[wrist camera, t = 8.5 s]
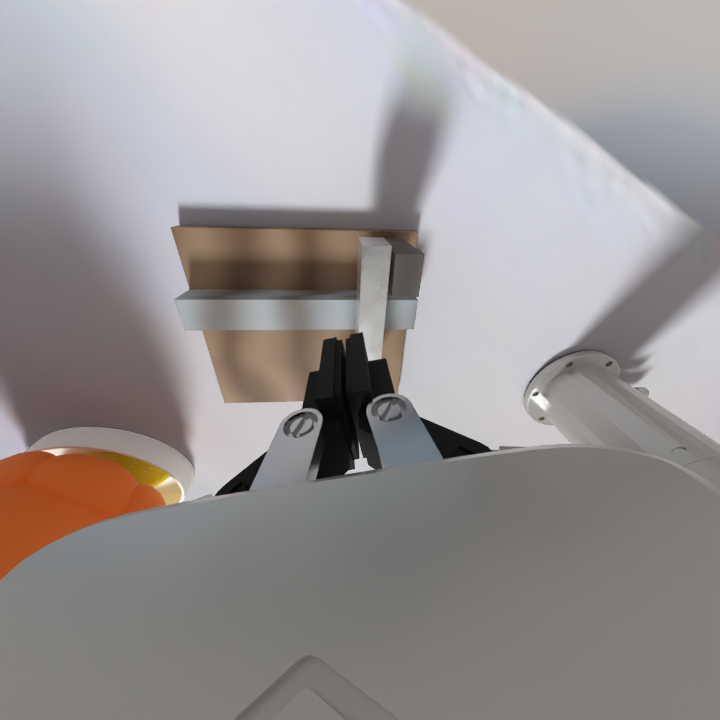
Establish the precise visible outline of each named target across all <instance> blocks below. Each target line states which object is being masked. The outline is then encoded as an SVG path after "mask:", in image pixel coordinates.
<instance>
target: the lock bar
mask: <svg viewBox="0 0 720 720" xmlns="http://www.w3.org/2000/svg"><path fill="white" fill-rule="evenodd" d="M391 251H392V246H391V245H390V244H389V243H388V242H387V241H386V240H385V239H384V238H375V237H358V265H357V294H356V324H355V333H360V332H363V337H364V342H365V347H366V352H367V357H368V361H372V360H378V359H381V356H382V345H383V335H384V324H385V314H386V303H387V293H388V282H389V272H390V261H391Z"/></svg>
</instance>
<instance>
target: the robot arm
mask: <svg viewBox="0 0 720 720" xmlns="http://www.w3.org/2000/svg"><path fill="white" fill-rule="evenodd" d="M620 378H621V370H620V367H619V364H618V363H617V362H616V360H614V359H613V358H611V357H610V356H608V355H606V354H604V353H602V352H598V351H582V352H576V353H573V354H570V355H566V356H564V357H562V358H560V359H558V360H556V361H554V362H553V363H551V364H549V365H548V366H547V367H545V368H544V369H543V370H542V371H540V372H539V374H538V375H537V376H536V377H535V378H534V379H533V380H532V382H531V383H530V384H529V386H528V388H527V390H526V393H525V397H524V406H525V410H526V411H527V413H528V414H529V415H530V416H531V417H532V418H533V419H534V420H535V421H537V422H538V423H541V424H545V425H554V426H555V427H556V428H557V429H558V430H559V431H560V432H561V433H562V434H563V436H564V437H565V438H566V439H567V440H568V441H569V442H570V443H571V444H557V445H541V446H533V447H506V446H499V450H490V449H489V448H488V447H487V446H485V445H483V444H482V443H480V442H477V441H475V440H473V439H470V438H468V437H466V436H463V435H461V434H459V433H456V432H454V431H452V430H449V429H447V428H444V427H442V426H440V425H437V424H435V423H433V422H430V421H428V420H426V419H423V418H421V417H419V416H418V414H417V412H416V410H415V409H414V407H413V405H412V403H411V402H410V401H409V400H408V398H406V397H404V396H402V395H399V394H395V391H394V387H393V383H392V380H391V376H390V372H389V368H388V364H387V360H386V358H383V359H378V360H372V361H368V357H367V352H366V347H365V342H364V337H363V332H360V333H355V334H350V338H347V339H346V353H345V349H344V345H343V341H342V340H337V337H334V338H329V339H324V340H323V346H322V353H321V360H320V367H319V370H318V371H313V372H310V373H309V376H308V381H307V386H306V391H305V396H304V402H303V407H302V409H300V410H297V411H295V412H293V413H291V414H290V415H288V416H287V417H286V418H285V419H284V420H283V421H282V422H281V424H280V425H279V428H278V430H277V432H276V434H275V436H274V438H273V440H272V443H271V445H270V447H269V449H268V451H267V452H265V453H264V454H263V455H262V456H260V457H259V458H258V459H257V460H255V461H254V462H253V463H252V464H250V465H249V466H248V467H247V468H245V469H244V470H243V471H242V472H240V473H239V474H238V475H237V476H235V477H234V478H233V479H232V480H230V481H229V482H228V483H227V484H225V485H224V486H223V487H222V488H221V489H220V490H219V491H218V492H217V494H216V495H215V496H214V497H213V496H212V494H209V495H206V496H203V497H201V498H198V499H195V500H192V501H186V502H180V503H175V504H169V505H165V506H160V507H155V508H150V509H145V510H141V511H136V512H131V513H127V514H123V515H120V516H116V517H113V518H109V519H106V520H103V521H100V522H98V523H95V524H92V525H90V526H87V527H84V528H82V529H79V530H77V531H75V532H73V533H71V534H69V535H66V536H64V537H62V538H60V539H58V540H56V541H54V542H52V543H50V544H49V545H47V546H45V547H43V548H42V549H40V550H38V551H37V552H35V553H34V554H32V555H30V556H29V557H27V558H26V559H24V560H23V561H22V562H20V563H19V564H18V565H17V566H15V567H14V568H13V569H12V570H11V571H10V572H9V573H8V574H7V575H5V576H4V577H3V578H2V579H1V580H0V720H720V445H719V444H718V443H716V442H715V441H713V440H712V439H710V438H709V437H707V436H706V435H704V434H703V433H701V432H700V431H698V430H697V429H695V428H694V427H692V426H691V425H689V424H688V423H686V422H685V421H683V420H682V419H680V418H679V417H677V416H676V415H674V414H673V413H671V412H669V411H668V410H666V409H665V408H663V407H662V406H660V405H659V404H657V403H656V402H654V401H653V400H651V399H650V398H648V397H647V396H648V395H649V391H648V390H647V389H646V388H644V387H634V388H633V387H632V386H630V385H629V384H627V383H626V382H624V381H623V380H621V379H620ZM358 440H359V443H358ZM359 444H360V447H361V451H362V455H363V458H367V461H368V465H369V466H371V467H372V468H374V469H375V470H370V471H364V472H358V473H352V474H346V475H344V474H345V473H346V472H347V471H348V470H352V469H355V464H354V460H355V459H359Z"/></svg>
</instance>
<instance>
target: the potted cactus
mask: <svg viewBox="0 0 720 720" xmlns="http://www.w3.org/2000/svg"><path fill="white" fill-rule="evenodd" d="M194 476H195V473H194V469H193V466H192V464H191V463H190V462H189V460H188V459H187V458H186V457H185V456H184V455H183V454H181V453H180V452H179V451H177V450H176V449H174V448H173V447H171V446H169V445H167V444H165V443H163V442H161V441H159V440H156V439H154V438H151V437H148V436H145V435H142V434H138V433H134V432H130V431H125V430H120V429H113V428H104V427H75V428H67V429H62V430H58V431H55V432H52V433H49V434H47V435H45V436H43V437H42V438H41V439H39V440H38V441H37V442H36V443H35V444H33V445H32V446H31V447H30V448H29V449H27V450H26V451H25V452H24V453H19V454H16V455H13V456H11V457H8V458H5V459H2V460H0V580H1V579H2V578H3V577H4V576H5V575H7V574H8V573H9V572H10V571H11V570H12V569H13V568H14V567H15V566H17V565H18V564H19V563H20V562H22V561H23V560H24V559H26V558H27V557H29V556H30V555H32V554H34V553H35V552H37V551H38V550H40V549H42V548H43V547H45V546H47V545H49V544H50V543H52V542H54V541H56V540H58V539H60V538H62V537H64V536H66V535H69V534H71V533H73V532H75V531H77V530H79V529H82V528H84V527H87V526H90V525H92V524H95V523H98V522H100V521H103V520H106V519H109V518H113V517H116V516H120V515H123V514H127V513H131V512H136V511H141V510H145V509H150V508H155V507H160V506H165V505H169V504H175V503H180V502H183V500H184V498H185V496H186V494H187V492H188V490H189V488H190V486H191V484H192V482H193V480H194Z"/></svg>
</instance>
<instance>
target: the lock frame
mask: <svg viewBox="0 0 720 720" xmlns="http://www.w3.org/2000/svg"><path fill="white" fill-rule="evenodd" d="M171 230H172V233H173V236H174V240H175V243H176V246H177V249H178V253H179V256H180V259H181V262H182V266H183V269H184V272H185V275H186V279H187V282H188V285H189V288H190V290H188V291H187V292H185V293H184V294H182V295H180V296H179V297H177V298H176V299H174V301H175V304H176V307H177V310H178V312H179V315H180V318H181V321H182V324H183V327H184V330H202V331H203V334H204V337H205V340H206V344H207V347H208V350H209V353H210V357H211V360H212V363H213V366H214V370H215V373H216V376H217V379H218V383H219V386H220V389H221V393H222V396H223V399H224V402H225V403H244V402H285V401H304V396H305V391H306V386H307V381H308V376H309V373H310V372H313V371H318V370H319V367H320V360H321V353H322V346H323V340H324V339H329V338H334V337H337V340H342V341H343V345H344V349H345V353H346V339H347V338H350V334H355V324H356V294H357V265H358V237H375V238H384V239H385V240H386V241H387V242H388V243H389V244H390V245H391V246H392V251H391V261H390V272H389V282H388V293H387V303H386V314H385V324H384V335H383V345H382V356H381V359H383V358H386V360H387V364H388V368H389V372H390V376H391V380H392V383H393V387H394V391H395V394H398V386H399V378H400V370H401V362H402V354H403V346H404V338H405V330H406V329H414V323H415V316H416V309H417V302H418V300H417V299H416V297H418V296H419V289H420V282H421V275H422V268H423V261H424V254H423V253H422V252H421V251H419V250H418V249H416V243H417V235H418V232H416V231H414V230H369V229H321V228H274V227H226V226H174V227H171Z"/></svg>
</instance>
